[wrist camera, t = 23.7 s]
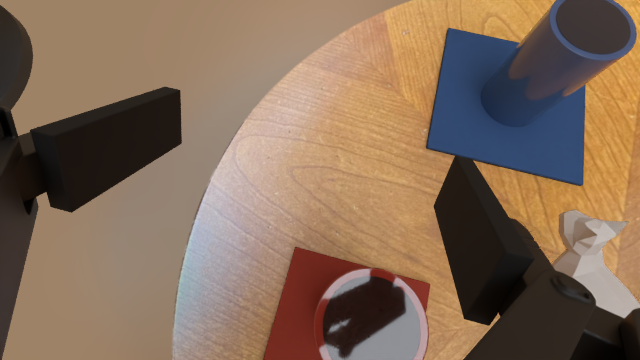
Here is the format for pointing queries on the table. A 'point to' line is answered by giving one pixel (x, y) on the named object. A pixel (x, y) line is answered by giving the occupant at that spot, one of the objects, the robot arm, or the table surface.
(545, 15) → the blue tumbler
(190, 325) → the table surface
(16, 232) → the robot arm
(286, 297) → the red mat
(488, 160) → the blue mat
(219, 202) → the table surface
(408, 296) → the red tumbler
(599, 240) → the cat figurine
